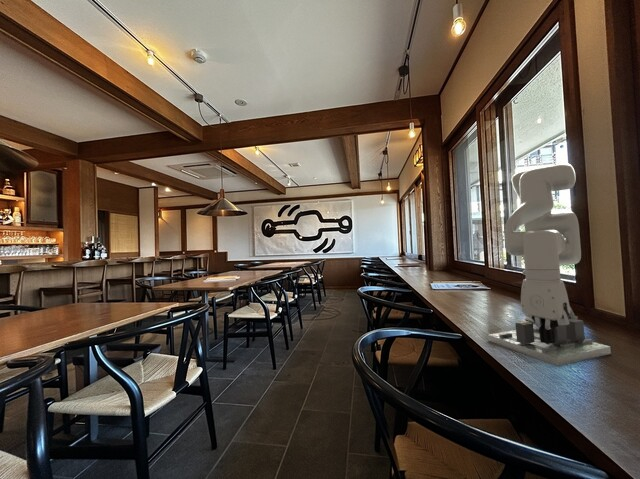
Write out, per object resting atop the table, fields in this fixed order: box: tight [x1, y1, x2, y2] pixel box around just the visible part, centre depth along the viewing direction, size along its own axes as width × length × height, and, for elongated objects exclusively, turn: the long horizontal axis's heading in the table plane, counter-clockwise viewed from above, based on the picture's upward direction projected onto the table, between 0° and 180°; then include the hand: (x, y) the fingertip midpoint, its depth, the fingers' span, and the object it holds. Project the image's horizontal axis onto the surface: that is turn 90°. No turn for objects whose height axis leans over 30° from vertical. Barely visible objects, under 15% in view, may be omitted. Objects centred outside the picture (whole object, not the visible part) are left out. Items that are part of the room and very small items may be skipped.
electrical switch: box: [568, 304, 579, 320], centre depth 92 cm, size 9×5×9 cm, turn 141°
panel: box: [487, 326, 612, 367], centre depth 83 cm, size 20×21×3 cm
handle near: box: [566, 319, 586, 341], centre depth 81 cm, size 4×3×6 cm
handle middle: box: [554, 325, 567, 345], centre depth 80 cm, size 4×3×6 cm
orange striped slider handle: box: [515, 320, 535, 344], centre depth 82 cm, size 4×3×6 cm
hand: (547, 342), depth 76 cm, fingers closed
